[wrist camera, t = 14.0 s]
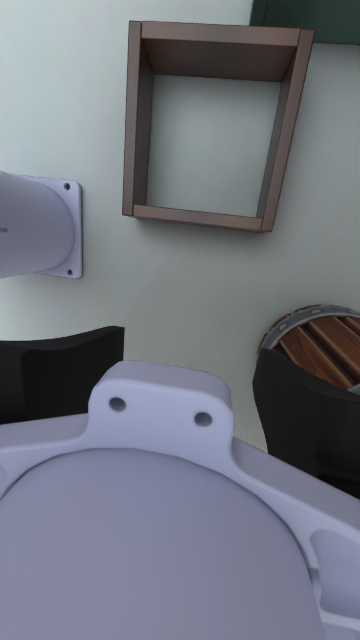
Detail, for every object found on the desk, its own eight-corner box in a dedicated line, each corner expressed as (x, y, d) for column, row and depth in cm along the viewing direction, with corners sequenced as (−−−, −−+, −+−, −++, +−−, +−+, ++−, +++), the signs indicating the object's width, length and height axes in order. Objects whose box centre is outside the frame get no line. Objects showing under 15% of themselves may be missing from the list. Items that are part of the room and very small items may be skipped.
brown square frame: (135, 218, 22) (121, 215, 18) (143, 59, 18) (128, 19, 15) (262, 233, 21) (272, 232, 17) (296, 68, 17) (316, 28, 14)
